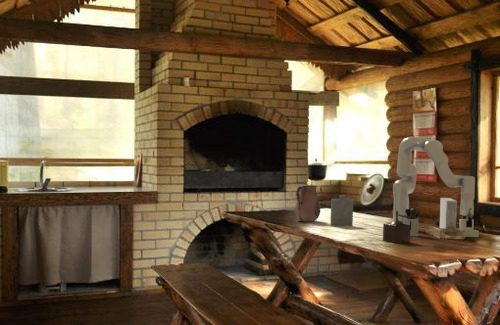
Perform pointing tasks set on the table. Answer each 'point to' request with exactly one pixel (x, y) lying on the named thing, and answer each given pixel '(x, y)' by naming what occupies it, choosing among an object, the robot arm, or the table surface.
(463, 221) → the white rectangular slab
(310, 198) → the ceramic pitcher
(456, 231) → the rack
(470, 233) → the holder
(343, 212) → the hip flask
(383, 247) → the table surface
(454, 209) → the packaging
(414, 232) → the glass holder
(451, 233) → the offcut walnut
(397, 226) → the dark brown coffee grinder
